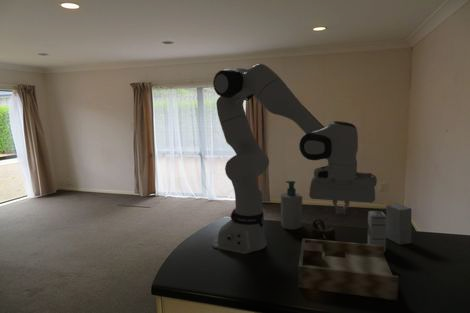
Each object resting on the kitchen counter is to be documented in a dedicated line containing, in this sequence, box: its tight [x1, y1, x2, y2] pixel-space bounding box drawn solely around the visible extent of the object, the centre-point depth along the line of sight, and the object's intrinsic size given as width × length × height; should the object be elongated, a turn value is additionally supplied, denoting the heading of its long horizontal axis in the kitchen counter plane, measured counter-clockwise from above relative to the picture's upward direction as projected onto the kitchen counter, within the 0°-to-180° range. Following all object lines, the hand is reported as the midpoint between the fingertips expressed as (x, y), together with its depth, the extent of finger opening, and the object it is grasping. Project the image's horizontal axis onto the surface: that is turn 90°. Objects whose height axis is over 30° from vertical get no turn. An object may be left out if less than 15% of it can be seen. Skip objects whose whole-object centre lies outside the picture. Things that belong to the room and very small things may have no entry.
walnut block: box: [303, 243, 322, 266], centre depth 103 cm, size 6×6×5 cm
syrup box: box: [366, 210, 387, 252], centre depth 120 cm, size 6×6×14 cm
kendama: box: [310, 218, 336, 241], centre depth 133 cm, size 6×10×20 cm
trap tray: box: [297, 238, 400, 301], centre depth 101 cm, size 28×22×7 cm
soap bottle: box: [280, 180, 303, 231], centre depth 145 cm, size 10×9×22 cm
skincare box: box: [385, 203, 412, 246], centre depth 127 cm, size 8×6×15 cm
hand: (340, 213), depth 100 cm, fingers closed
